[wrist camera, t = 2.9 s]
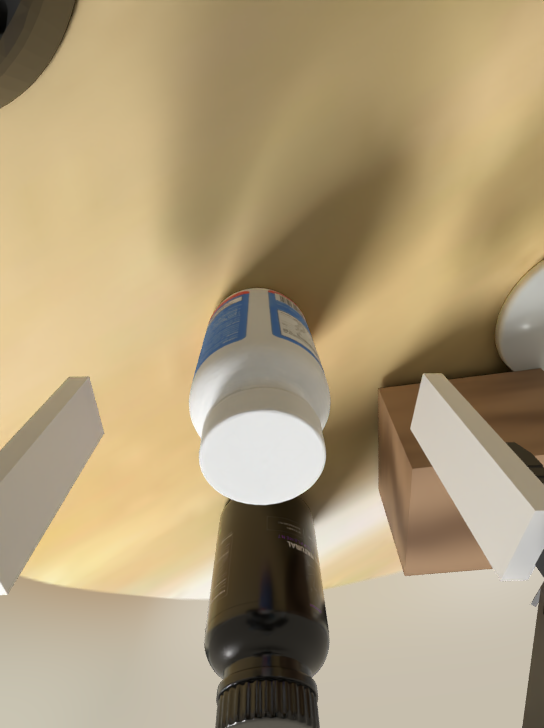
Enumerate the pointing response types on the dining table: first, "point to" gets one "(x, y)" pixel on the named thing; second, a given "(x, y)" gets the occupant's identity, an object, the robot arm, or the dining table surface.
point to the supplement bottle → (266, 617)
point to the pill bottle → (259, 400)
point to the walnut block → (420, 481)
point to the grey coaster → (523, 323)
